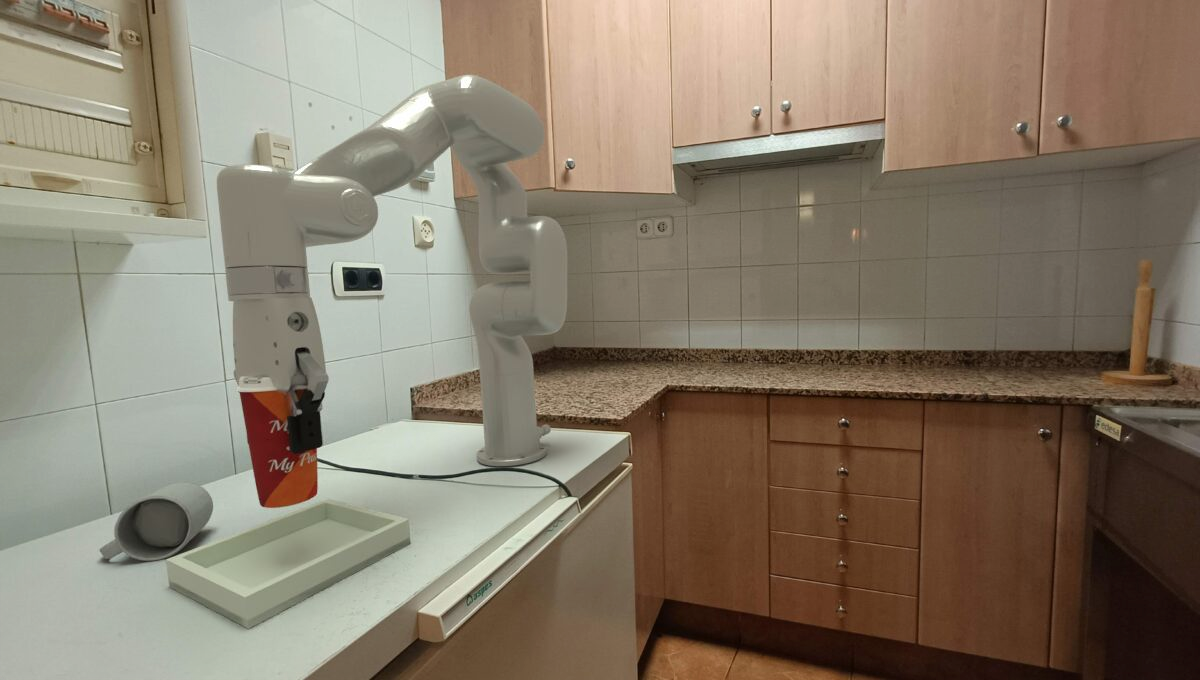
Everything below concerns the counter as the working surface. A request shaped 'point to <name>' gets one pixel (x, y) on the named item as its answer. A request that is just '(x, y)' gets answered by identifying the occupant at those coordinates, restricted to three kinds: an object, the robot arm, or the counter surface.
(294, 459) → the paper cup
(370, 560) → the sage tray
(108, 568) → the counter surface
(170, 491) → the ceramic mug
